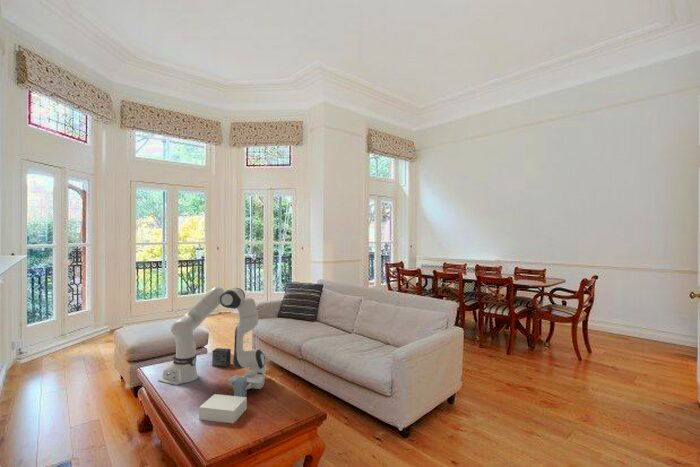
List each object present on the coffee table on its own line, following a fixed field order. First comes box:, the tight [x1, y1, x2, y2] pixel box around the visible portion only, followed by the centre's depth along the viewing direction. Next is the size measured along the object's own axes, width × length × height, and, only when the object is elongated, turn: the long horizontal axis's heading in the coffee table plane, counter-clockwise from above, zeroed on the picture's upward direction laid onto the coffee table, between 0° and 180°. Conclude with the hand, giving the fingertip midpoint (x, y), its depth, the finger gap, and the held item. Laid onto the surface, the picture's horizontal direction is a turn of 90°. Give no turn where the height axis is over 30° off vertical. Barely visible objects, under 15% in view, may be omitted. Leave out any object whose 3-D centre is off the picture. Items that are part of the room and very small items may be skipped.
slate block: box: [233, 377, 248, 397], centre depth 194 cm, size 5×5×10 cm
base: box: [198, 393, 248, 424], centre depth 176 cm, size 18×14×6 cm
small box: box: [211, 347, 232, 368], centre depth 240 cm, size 11×6×10 cm, turn 84°
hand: (239, 388), depth 193 cm, fingers closed on slate block, 5 cm apart
